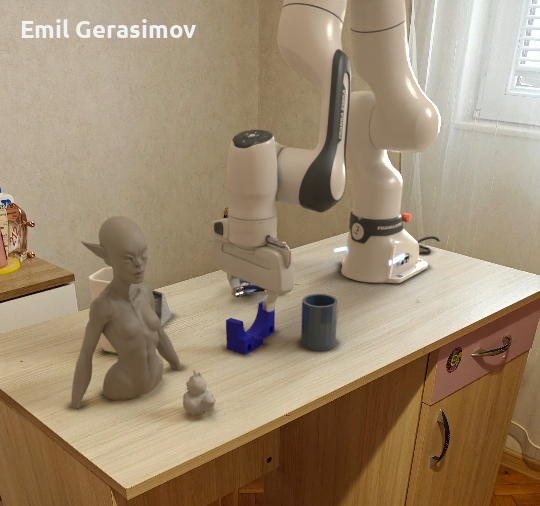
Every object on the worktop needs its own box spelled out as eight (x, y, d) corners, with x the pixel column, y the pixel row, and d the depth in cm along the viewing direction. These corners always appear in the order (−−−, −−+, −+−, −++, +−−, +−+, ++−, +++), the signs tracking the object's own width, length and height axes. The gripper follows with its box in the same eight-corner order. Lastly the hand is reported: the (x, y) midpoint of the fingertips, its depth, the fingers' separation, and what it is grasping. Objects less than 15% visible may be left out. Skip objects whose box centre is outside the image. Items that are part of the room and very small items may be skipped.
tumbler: (318, 333, 147) (320, 291, 142) (342, 344, 143) (345, 301, 137) (293, 342, 143) (294, 299, 138) (317, 354, 139) (319, 310, 134)
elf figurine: (97, 425, 117) (68, 239, 100) (67, 403, 123) (34, 224, 105) (205, 381, 130) (196, 209, 112) (173, 363, 135) (160, 197, 118)
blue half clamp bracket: (245, 355, 138) (244, 325, 135) (226, 349, 141) (225, 320, 137) (280, 334, 146) (281, 306, 143) (262, 328, 149) (262, 301, 145)
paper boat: (188, 312, 152) (160, 315, 145) (173, 334, 156) (144, 337, 148) (155, 271, 154) (125, 272, 147) (141, 293, 158) (111, 295, 151)
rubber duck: (198, 400, 124) (195, 358, 119) (226, 413, 120) (224, 370, 116) (175, 413, 120) (171, 369, 116) (203, 426, 117) (200, 382, 112)
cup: (129, 359, 137) (120, 283, 128) (95, 353, 139) (84, 278, 130) (147, 344, 142) (139, 270, 134) (115, 339, 144) (105, 265, 136)
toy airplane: (303, 296, 163) (303, 280, 161) (249, 308, 158) (249, 292, 155) (273, 278, 172) (273, 263, 170) (221, 289, 167) (221, 274, 165)
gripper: (304, 240, 126) (301, 315, 134) (231, 215, 139) (233, 285, 147) (277, 247, 123) (275, 323, 131) (205, 221, 135) (208, 292, 143)
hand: (252, 303), depth 139 cm, fingers open, 8 cm apart
